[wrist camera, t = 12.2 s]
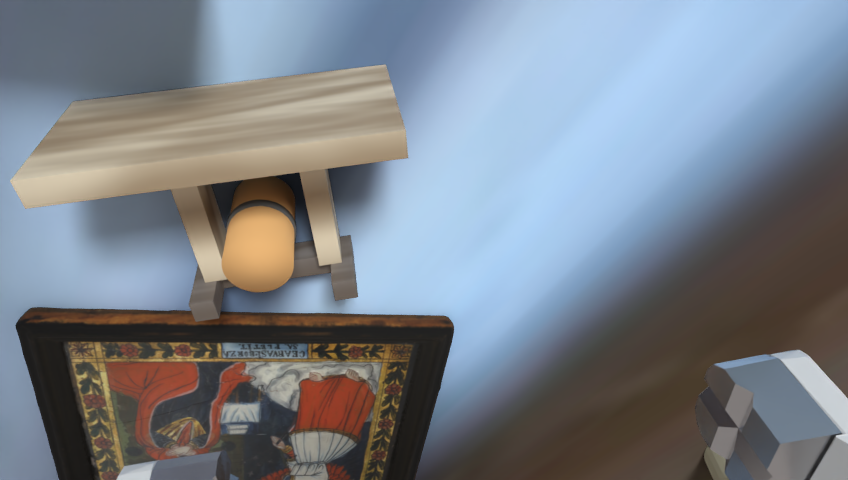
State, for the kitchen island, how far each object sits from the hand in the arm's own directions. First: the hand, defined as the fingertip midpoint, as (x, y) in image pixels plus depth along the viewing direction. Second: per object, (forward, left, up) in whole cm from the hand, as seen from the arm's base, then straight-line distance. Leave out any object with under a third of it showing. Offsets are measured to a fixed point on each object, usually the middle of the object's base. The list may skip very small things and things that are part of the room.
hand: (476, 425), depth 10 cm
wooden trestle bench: (+11, -8, -29) cm, 32 cm away
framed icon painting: (+39, -15, -30) cm, 51 cm away
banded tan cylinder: (+12, -8, -29) cm, 32 cm away
